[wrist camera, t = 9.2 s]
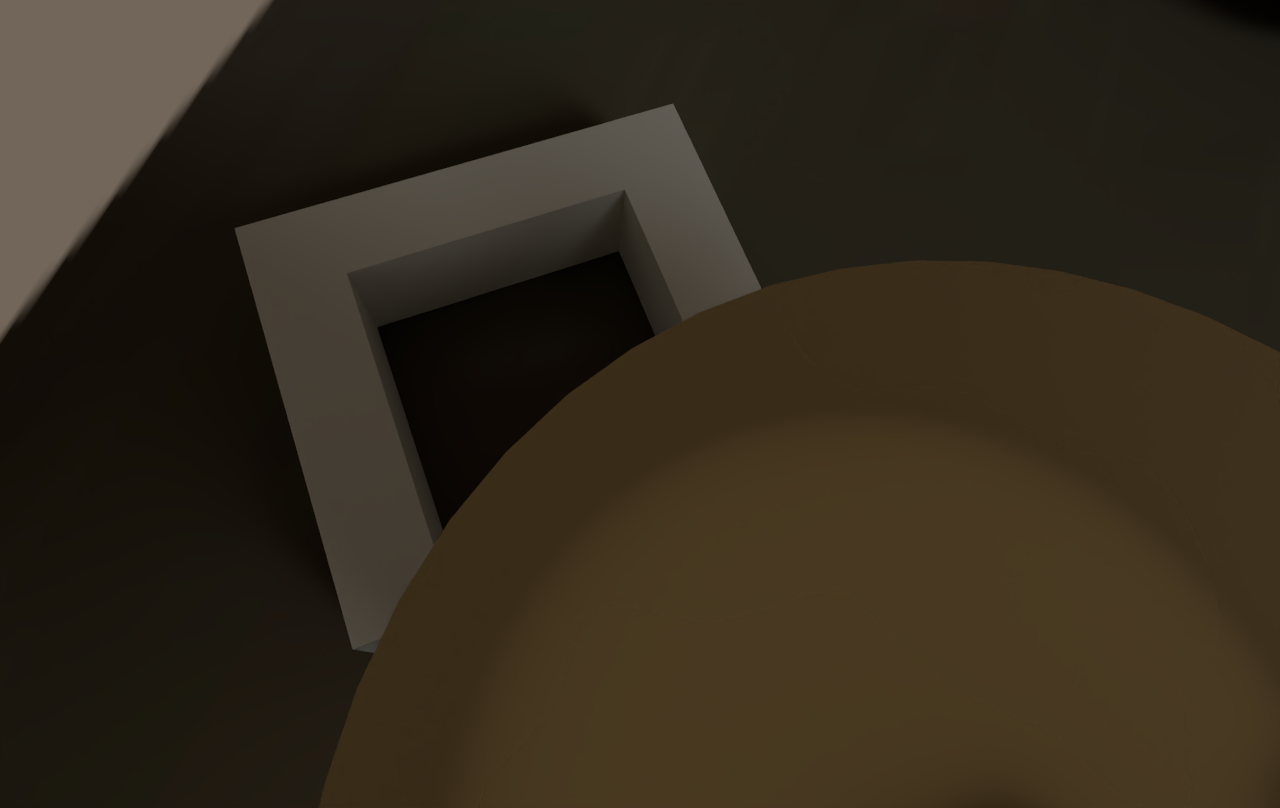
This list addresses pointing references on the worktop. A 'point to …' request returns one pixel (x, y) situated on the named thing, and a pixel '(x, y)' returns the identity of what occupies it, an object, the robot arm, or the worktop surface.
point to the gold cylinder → (860, 567)
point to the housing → (448, 273)
